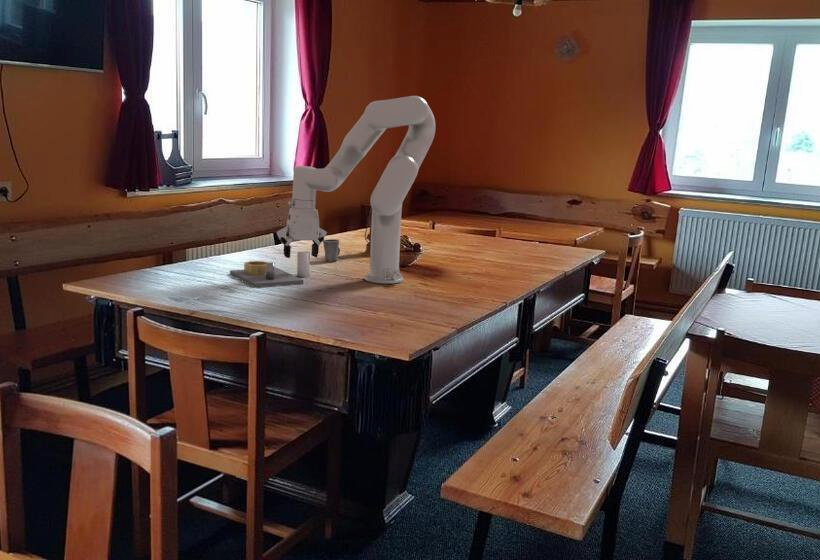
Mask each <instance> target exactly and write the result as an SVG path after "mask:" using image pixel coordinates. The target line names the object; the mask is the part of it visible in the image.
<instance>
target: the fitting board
mask: <svg viewBox="0 0 820 560" xmlns="http://www.w3.org/2000/svg"><path fill="white" fill-rule="evenodd" d="M229 275H231V276H233V277H235V278H236V277H237V279H238V278H239V279H238V280H240V279H241V280H240V281H242V280H243V281H242V282H244V283H245V282H246V284H247V283H248V284H247V285H249V284H250V285H249V286H251V285H252V286H251V287H253V286H254V287H257V288H264V287H263V286H269V287H277V286H276V285H282V286H290V284H295V285H303V284H304V279H303V278H301V277H297V276H295V275H293V274H291V273H289V272H287V271H285V270H282V269H280V268H278V267H276V266H275V277H274V280H267V279H266V274H265V275H250V274H246V273H244V269H233V270H229ZM261 286H262V287H261ZM254 287H253V288H254Z"/></svg>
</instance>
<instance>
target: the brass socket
mask: <svg viewBox="0 0 820 560" xmlns="http://www.w3.org/2000/svg"><path fill="white" fill-rule="evenodd" d="M266 263H269V261H264V260H251V261H246V262H244V263H243V267H244V268H243V270H244V273H246V274H250V275H265V274H266Z"/></svg>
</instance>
